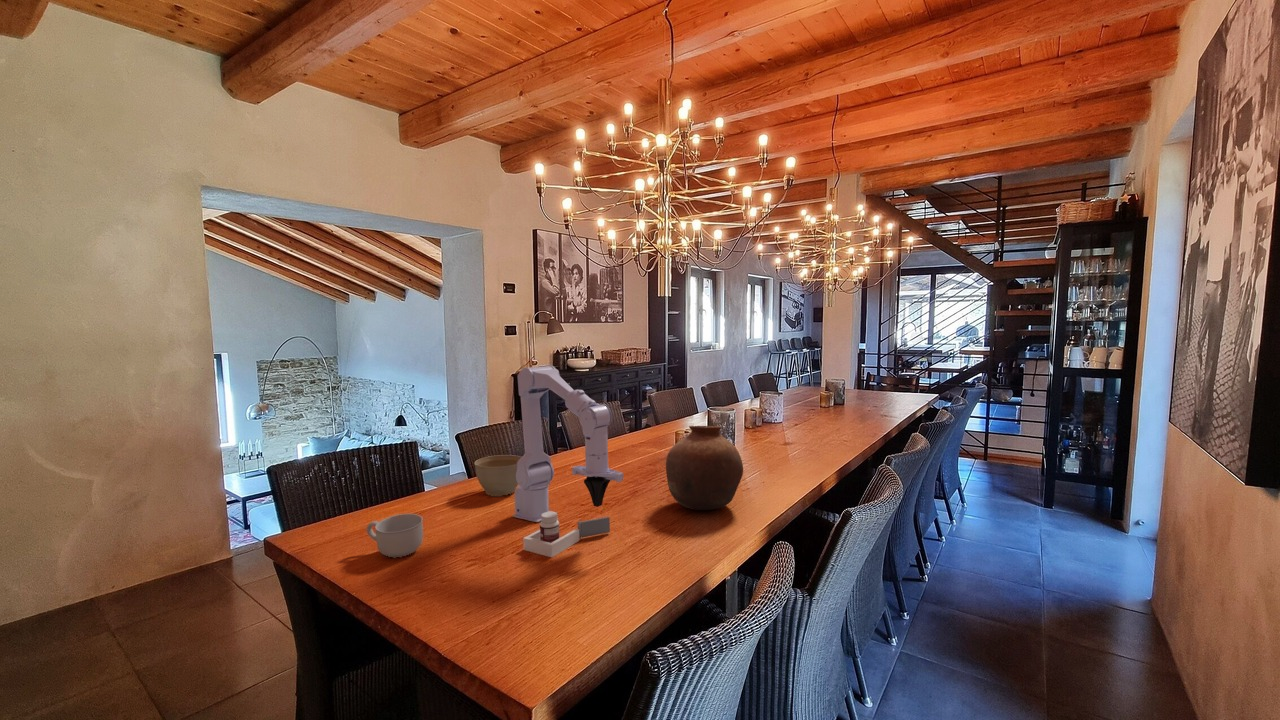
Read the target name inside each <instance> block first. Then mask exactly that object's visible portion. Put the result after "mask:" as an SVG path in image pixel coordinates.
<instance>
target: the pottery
mask: <svg viewBox="0 0 1280 720" xmlns="http://www.w3.org/2000/svg"><path fill="white" fill-rule="evenodd" d="M689 429H690V430H691V433H690V434H688V435H687V436H685V437H684V438H681V439H680V440H679V441H677V442H676V443H675V444H674V445H673V446H672V447H671V448H670V450H668V453H667V456H666V462H665V471H666V479H667V487H668V489H669V492H670V494H671V496H672V497H673V499H674V500H675V501H676V502H677V503H678V504H679V505H681V506H682V507H684V508H687V509H690V510H697V511H711V510H717V509H721V508H724V507H726V506H727V505H728V504H731V502H732V501H733V499H734V497H735V495H736V492H737V490H738V487H739V485H740V483H741V480H742V479H743V478H742V477H743V474H744V465H743V460H742V457H741V454H740V452H739V450H738V449H737V447H736V446H735V445H734V444H733V443H732V442H731V441H730V440H729V439H727V438H726V437H724V436H723V435H722V434H721V433H720V431H721V429H723V428H722V426H721V425H689Z"/></svg>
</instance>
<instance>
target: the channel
mask: <svg viewBox="0 0 1280 720" xmlns="http://www.w3.org/2000/svg"><path fill="white" fill-rule="evenodd" d="M522 541H523V543H522V544H523V550H524V551H527V552H531V553H534V554H537V555H541V556H545V557H549V558H554V557H555V556H557V555H558V554H560V553H562V552H563V551H565V550H567V549H568V548H570V547H572V546H573V545H574V544H575V545H576V543H578V542H579V541H580V539H579V529H578V528H575V529H572V530H571V531H569V532H568V533H566V534H564V535H562V536H560V537H559V539H557V540H555V541H554V542H552V543H549V542H545V541H541V540H540V529H538V530H536V531H534V532H532V533H530V534H528V535H526V536H524V537H523V538H522Z"/></svg>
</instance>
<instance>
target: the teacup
mask: <svg viewBox="0 0 1280 720" xmlns="http://www.w3.org/2000/svg"><path fill="white" fill-rule="evenodd" d="M423 521H424V519H423V516H421V515H419V514H416V513H401V514H400V513H399V514H395V515H392V516H389V517H385V518H384V519H382V520H379V521H377V520H373V521H370V522H369V523H368V524H367V526H366V533H367V535H368V537H370V539H372V540H374V541H376V546H377V549H378V551H379V552H380V554H382V555H384V556H386V557H387V556H388V557H387V558H390V557H393V558H392V559H397V558H396V557H400V558H403V557H402V556H405V557H407V556H406V555H408V556H409V554H410V555H412V554H413V553H415V552H416V551H417V549H418V548H420V547H421V545H422V543H423V541H424V527H423V526H424V525H423ZM373 527H374V531H375V532H374V531H373ZM411 553H412V554H411Z"/></svg>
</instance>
